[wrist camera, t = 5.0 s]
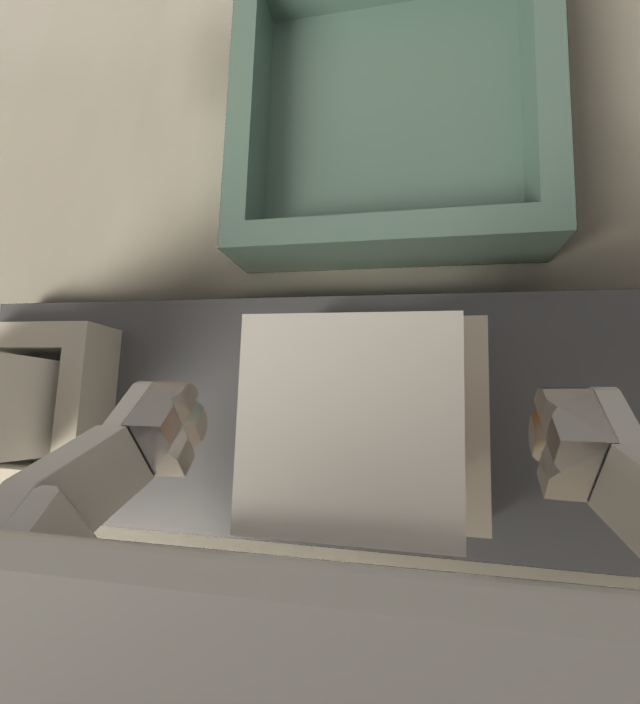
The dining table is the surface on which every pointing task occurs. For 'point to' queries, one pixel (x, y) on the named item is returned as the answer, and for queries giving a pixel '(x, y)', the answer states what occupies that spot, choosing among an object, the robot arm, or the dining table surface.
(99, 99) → the dining table surface
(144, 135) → the dining table surface
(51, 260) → the dining table surface
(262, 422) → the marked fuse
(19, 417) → the block
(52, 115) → the dining table surface
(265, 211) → the tray
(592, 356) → the board
